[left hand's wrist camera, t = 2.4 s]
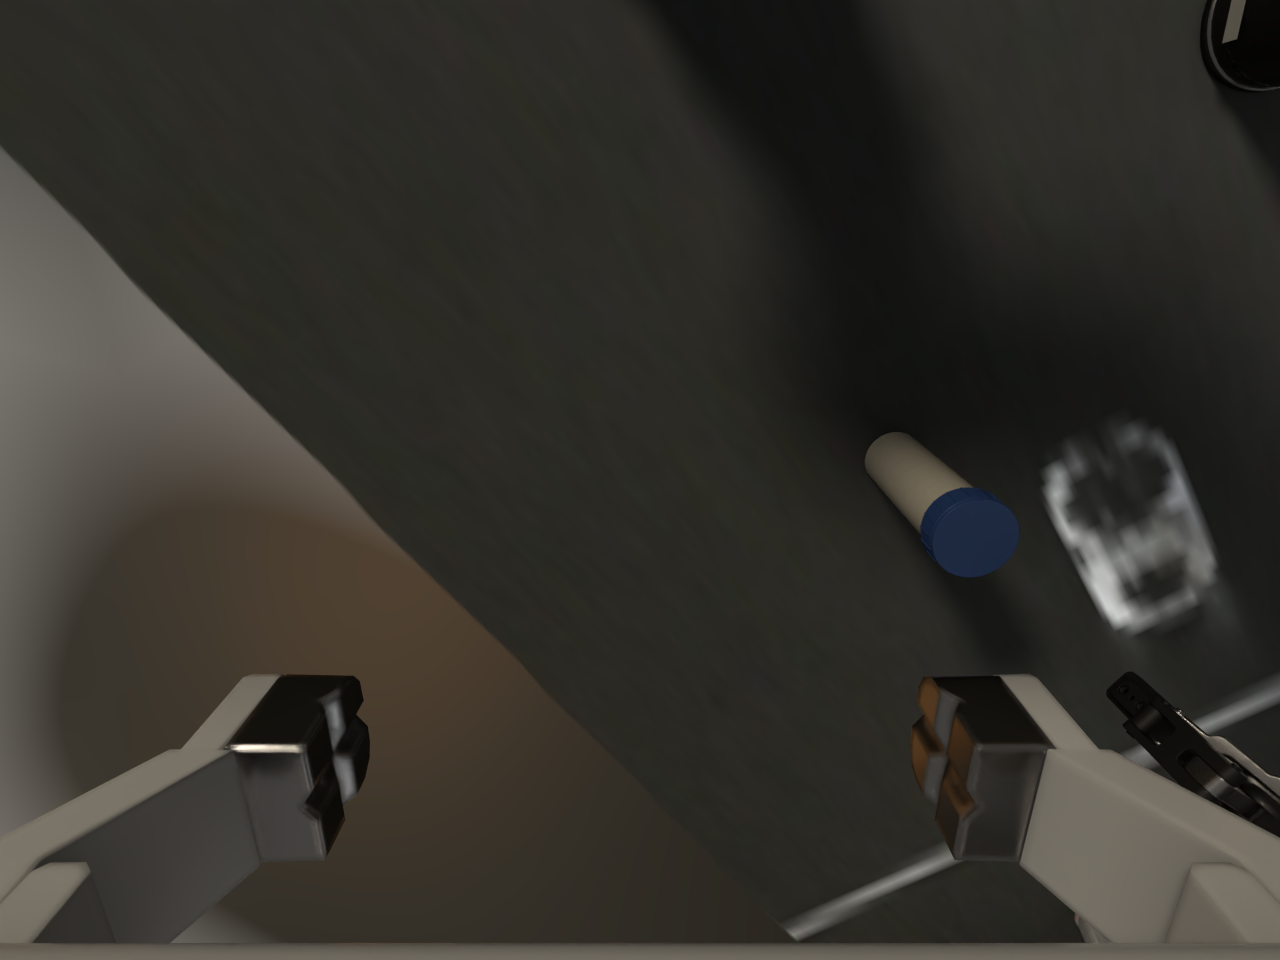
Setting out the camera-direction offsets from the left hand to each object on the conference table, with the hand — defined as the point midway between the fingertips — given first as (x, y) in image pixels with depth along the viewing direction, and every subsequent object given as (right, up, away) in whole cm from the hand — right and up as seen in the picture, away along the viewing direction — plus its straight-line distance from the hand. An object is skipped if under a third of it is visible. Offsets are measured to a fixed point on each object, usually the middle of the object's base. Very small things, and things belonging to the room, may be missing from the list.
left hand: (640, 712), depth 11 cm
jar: (+21, +5, +49) cm, 54 cm away
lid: (+21, 0, +35) cm, 41 cm away
